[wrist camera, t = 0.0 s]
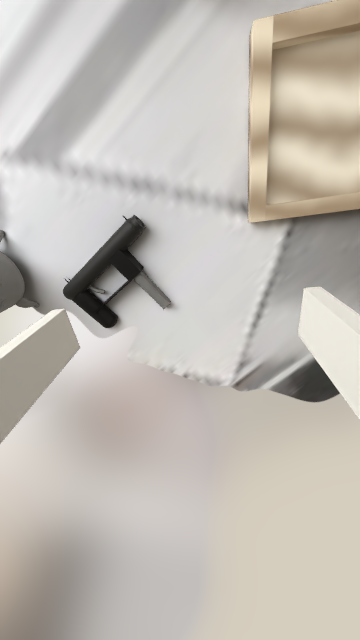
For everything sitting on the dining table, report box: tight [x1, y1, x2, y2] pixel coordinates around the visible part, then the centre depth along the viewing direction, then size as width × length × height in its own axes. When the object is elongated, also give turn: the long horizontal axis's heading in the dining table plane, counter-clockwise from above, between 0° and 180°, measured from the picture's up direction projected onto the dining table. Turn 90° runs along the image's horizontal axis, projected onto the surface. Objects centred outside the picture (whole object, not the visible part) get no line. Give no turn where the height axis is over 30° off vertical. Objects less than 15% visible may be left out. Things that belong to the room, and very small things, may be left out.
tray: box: [248, 0, 360, 223], centre depth 28 cm, size 20×20×2 cm
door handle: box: [63, 215, 171, 328], centre depth 41 cm, size 3×20×16 cm
